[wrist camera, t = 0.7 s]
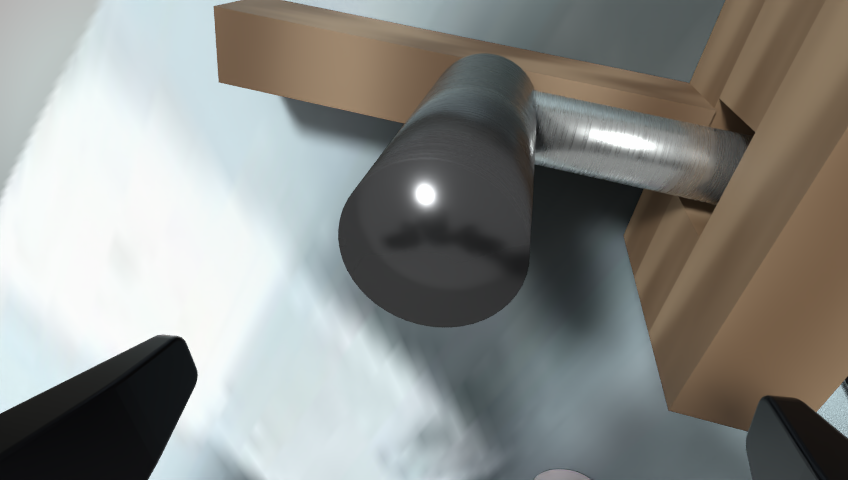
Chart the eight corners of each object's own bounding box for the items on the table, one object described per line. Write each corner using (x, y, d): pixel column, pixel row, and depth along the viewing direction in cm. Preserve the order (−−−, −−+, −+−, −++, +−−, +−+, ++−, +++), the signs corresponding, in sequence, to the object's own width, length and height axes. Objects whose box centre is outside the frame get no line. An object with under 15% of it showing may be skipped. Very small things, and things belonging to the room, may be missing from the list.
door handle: (916, 138, 14) (1329, 364, 6) (845, 238, 15) (1107, 503, 8) (442, 41, 15) (345, 139, 8) (425, 143, 16) (333, 302, 9)
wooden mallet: (849, -25, 15) (1164, 15, 7) (698, 253, 20) (789, 442, 13) (259, -131, 17) (18, -186, 9) (264, 151, 22) (116, 264, 14)
